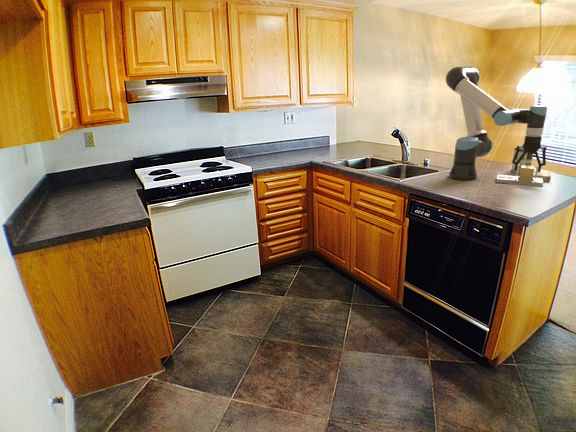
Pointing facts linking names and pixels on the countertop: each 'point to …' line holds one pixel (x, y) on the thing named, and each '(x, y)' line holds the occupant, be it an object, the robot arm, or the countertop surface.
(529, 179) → the cube with dome knob
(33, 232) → the countertop surface
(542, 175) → the pedestal
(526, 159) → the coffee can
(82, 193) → the countertop surface
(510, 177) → the beige panel with cutout
